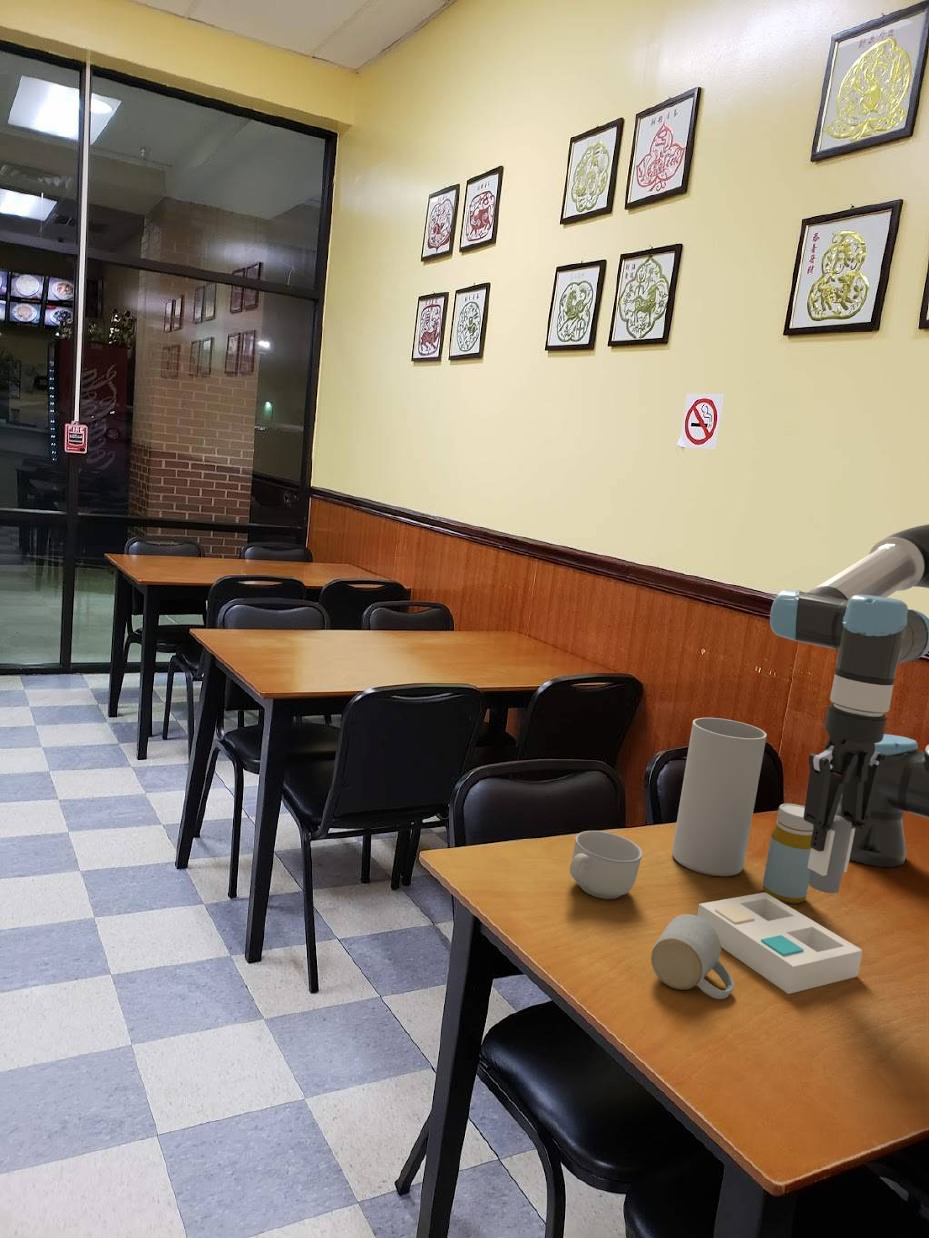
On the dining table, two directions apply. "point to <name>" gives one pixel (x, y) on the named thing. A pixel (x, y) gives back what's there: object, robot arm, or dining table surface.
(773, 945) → the socket block
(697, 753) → the cylinder vase
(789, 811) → the bottle
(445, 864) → the dining table surface
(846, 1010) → the dining table surface
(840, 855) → the plug
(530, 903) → the dining table surface
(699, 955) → the ceramic mug
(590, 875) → the teacup
